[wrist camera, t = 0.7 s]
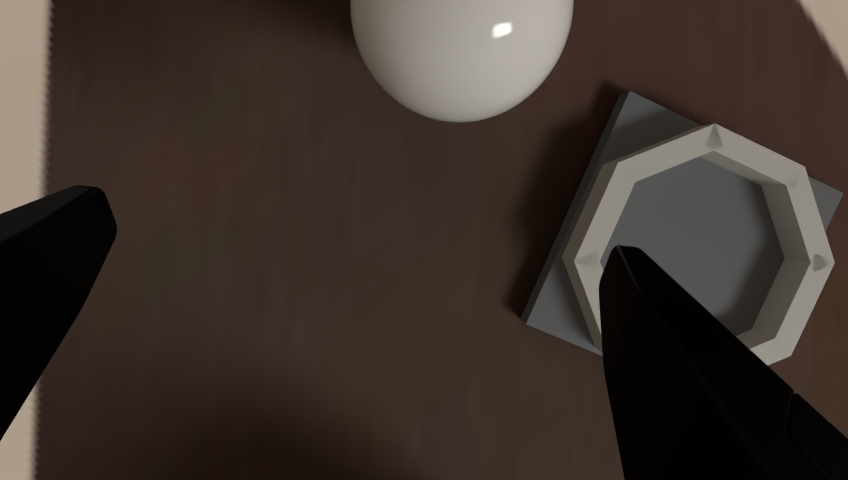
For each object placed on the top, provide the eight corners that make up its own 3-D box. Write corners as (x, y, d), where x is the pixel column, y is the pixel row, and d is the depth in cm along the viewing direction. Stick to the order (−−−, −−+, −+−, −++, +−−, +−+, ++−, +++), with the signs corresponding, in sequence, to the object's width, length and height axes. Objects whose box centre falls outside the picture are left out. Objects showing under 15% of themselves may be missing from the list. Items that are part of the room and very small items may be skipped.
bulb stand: (726, 405, 26) (762, 427, 23) (520, 318, 25) (535, 332, 22) (825, 193, 25) (873, 193, 23) (619, 94, 24) (646, 83, 22)
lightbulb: (334, 37, 23) (291, -104, 12) (464, -31, 23) (539, -230, 12) (403, 170, 24) (423, 151, 13) (530, 103, 24) (655, 27, 13)
